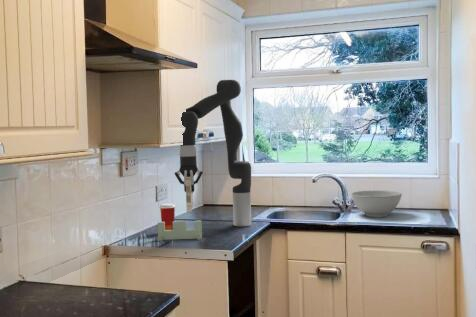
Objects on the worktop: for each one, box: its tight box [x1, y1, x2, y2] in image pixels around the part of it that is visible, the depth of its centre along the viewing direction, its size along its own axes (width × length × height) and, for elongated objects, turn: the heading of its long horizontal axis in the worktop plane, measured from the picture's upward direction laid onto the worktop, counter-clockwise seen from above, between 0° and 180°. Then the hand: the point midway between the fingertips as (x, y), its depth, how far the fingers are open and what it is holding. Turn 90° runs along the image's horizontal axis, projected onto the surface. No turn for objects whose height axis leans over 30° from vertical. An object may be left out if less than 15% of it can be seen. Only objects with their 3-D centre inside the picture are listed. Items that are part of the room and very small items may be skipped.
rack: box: [156, 220, 203, 242], centre depth 240 cm, size 8×20×8 cm, turn 92°
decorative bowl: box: [351, 190, 403, 218], centre depth 286 cm, size 27×27×12 cm
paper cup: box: [159, 202, 176, 230], centre depth 254 cm, size 8×8×14 cm
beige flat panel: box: [185, 177, 194, 213], centre depth 239 cm, size 16×2×15 cm, turn 2°
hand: (189, 192), depth 239 cm, fingers closed on beige flat panel, 2 cm apart
